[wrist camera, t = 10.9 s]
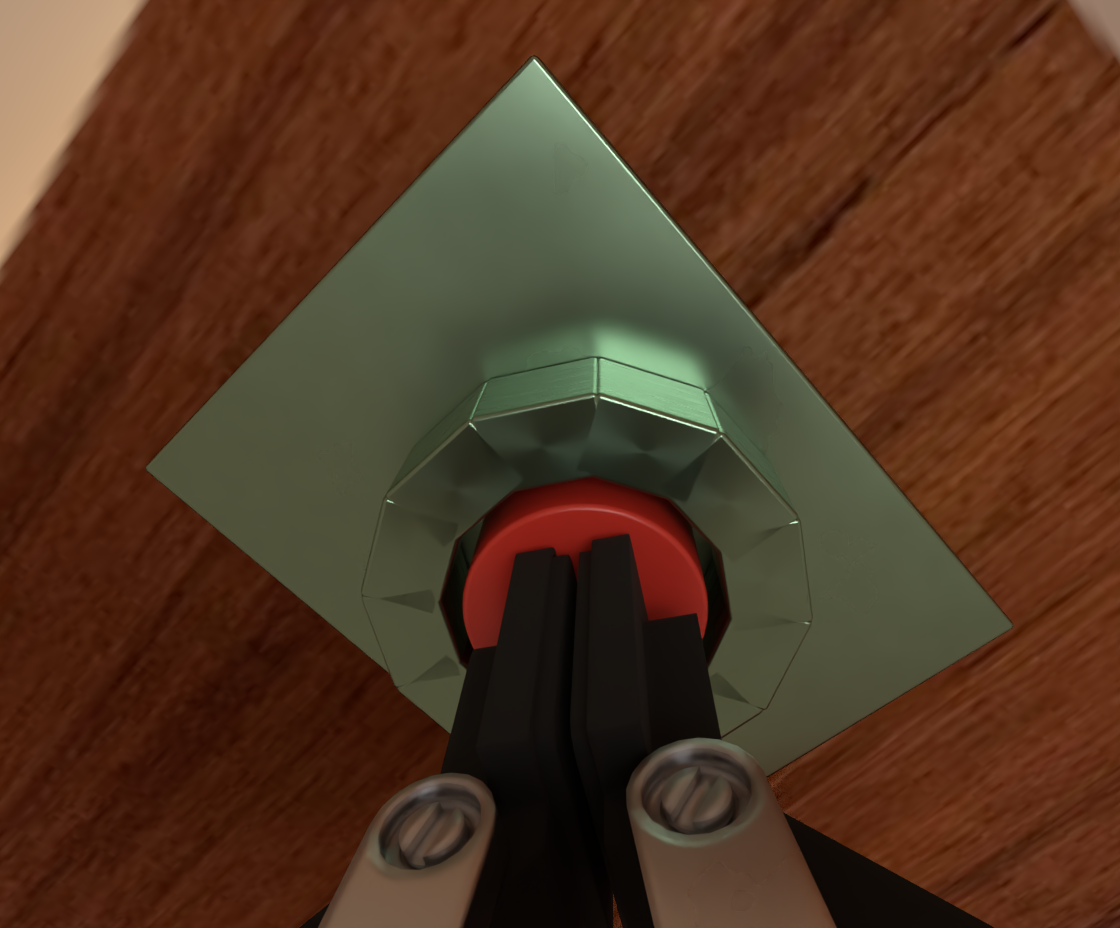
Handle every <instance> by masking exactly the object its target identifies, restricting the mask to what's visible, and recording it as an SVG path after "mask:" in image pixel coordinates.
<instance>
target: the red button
mask: <svg viewBox="0 0 1120 928" xmlns="http://www.w3.org/2000/svg"><path fill="white" fill-rule="evenodd" d="M624 534H629V535H630V538H631V542H632V547H633V551H634V556H635V561H636V565H637V570H638V574H639V579H640V583H641V588H642V593H643V597H644V602H645V606H646V611H647V615H648V620H649V621H650V620H656V619H662V618H669V617H675V616H681V615H687V614H693V613H697V616H698V621H699V626H700V631H701V636H702V639H703V637H704V634H705V630H706V625H707V621H708V598H707V590H706V586H705V582H704V577H703V573H702V569H701V564H700V560H699V556H698V551H697V547H696V543H695V539H694V535H693V531H692V527H691V525H690V523H689V522H688V521H687V520H686V518H685V517H684V516H683V515H682V514H681V513H680V512H679V511H678V510H677V509H676V508H675V507H674V506H673V505H672V504H671V503H670V502H669V501H668V500H667V499H664V498H660V497H657V496H654V495H650V494H647V493H644V492H640V491H637V490H634V489H630V488H627V487H624V486H620V485H617V484H614V483H610V482H607V481H604V480H600V479H597V478H594V477H591V478H586V479H580V480H575V481H570V482H565V483H559V484H554V485H549V486H543V487H538V488H533V489H528V490H522V491H517V492H514V493H513V494H512V495H511V496H509V497H508V498H507V499H506V500H505V501H503V502H502V503H501V504H500V505H499V506H497V507H496V508H495V509H494V510H493V511H492V512H490V513H489V514H488V515H487V516H486V517H485V519H484V522H483V525H482V527H481V530H480V533H479V537H478V540H477V544H476V547H475V551H474V554H473V557H472V561H471V564H470V568H469V571H468V574H467V578H466V582H465V586H464V591H463V603H462V608H463V619H464V623H465V627H466V631H467V634H468V637H469V639H470V642H471V644H472V646H473V648H474V650H475V649H477V648H484V647H490V646H496V645H497V642H498V637H499V632H500V627H501V623H502V618H503V613H504V608H505V603H506V598H507V593H508V589H509V584H510V579H511V574H512V569H513V564H514V559H515V556H516V554H517V553H523V552H528V551H534V550H540V549H545V548H551V547H553V548H554V549H555V551H556V554H557V556H561V555H567V554H569V556H570V558H571V560H572V564H573V568H574V572H575V576H576V580H577V582H578V564H579V552H584V551H590V550H591V548H592V540H596V539H602V538H607V537H613V536H619V535H624Z"/></svg>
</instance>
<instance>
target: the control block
mask: <svg viewBox="0 0 1120 928" xmlns="http://www.w3.org/2000/svg"><path fill="white" fill-rule="evenodd" d="M146 470H147V472H149V473H150V474H151V475H152V476H153V477H154V478H156V479H157V480H158V481H159V482H160V483H162V484H163V485H164V486H165V487H166V488H168V489H169V490H170V491H171V492H172V493H174V494H175V495H176V496H177V497H178V498H180V499H181V500H182V501H183V502H184V503H186V504H187V505H188V506H189V507H190V508H192V509H193V510H194V511H195V512H196V513H197V514H199V515H200V516H201V517H202V518H203V519H205V520H206V521H207V522H208V523H209V524H211V525H212V526H213V527H214V528H215V529H217V530H218V531H219V532H220V533H221V534H223V535H224V536H225V537H226V538H227V539H229V540H230V541H231V542H232V543H233V544H235V545H236V546H237V547H238V548H239V549H240V550H242V551H243V552H244V553H245V554H246V555H248V556H249V557H250V558H251V559H252V560H254V561H255V562H256V563H257V564H258V565H260V566H261V567H262V568H263V569H264V570H266V571H267V572H268V573H269V574H270V575H272V576H273V577H274V578H275V579H276V580H278V581H279V582H280V583H281V584H282V585H283V586H285V587H286V588H287V589H288V590H289V591H291V592H292V593H293V594H294V595H295V596H297V597H298V598H299V599H300V600H301V601H303V602H304V603H305V604H306V605H307V606H309V607H310V608H311V609H312V610H313V611H315V612H316V613H317V614H318V615H319V616H321V617H322V618H323V619H324V620H325V621H326V622H328V623H329V624H330V625H331V626H332V627H334V628H335V629H336V630H337V631H338V632H340V633H341V634H342V635H343V636H344V637H346V638H347V639H348V640H349V641H350V642H352V643H353V644H354V645H355V646H356V647H358V648H359V649H360V650H361V651H362V652H364V653H365V654H366V655H367V656H368V657H369V658H371V659H372V660H373V661H374V662H375V663H377V664H378V665H379V666H380V667H381V668H383V669H384V670H385V671H386V672H387V673H389V674H390V676H391V678H392V681H393V684H394V686H395V687H397V689H398V691H399V692H400V693H401V694H402V695H404V696H405V697H406V698H407V699H408V700H410V701H411V702H412V703H413V704H414V705H416V706H417V707H418V708H419V709H420V710H422V711H423V712H424V713H425V714H426V715H428V716H429V717H430V718H431V719H432V720H434V721H435V722H436V723H437V724H438V725H440V726H441V727H442V728H443V729H444V730H446V731H447V732H448V733H449V734H451V730H452V726H453V723H454V719H455V715H456V711H457V707H458V703H459V699H460V695H461V691H462V687H463V683H464V679H465V675H466V671H467V667H468V663H469V659H470V656H471V654H472V651H473V650H474V648H473V646H472V644H471V642H470V639H469V637H468V634H467V631H466V627H465V623H464V619H463V608H462V603H463V591H464V586H465V582H466V578H467V574H468V571H469V568H470V564H471V561H472V557H473V554H474V551H475V547H476V544H477V540H478V537H479V533H480V530H481V527H482V525H483V522H484V519H485V517H486V516H487V515H488V514H489V513H490V512H492V511H493V510H494V509H495V508H496V507H497V506H499V505H500V504H501V503H502V502H503V501H505V500H506V499H507V498H508V497H509V496H511V495H512V494H513V493H514V492H517V491H522V490H528V489H533V488H538V487H543V486H549V485H554V484H559V483H565V482H570V481H575V480H580V479H586V478H591V477H594V478H597V479H600V480H604V481H607V482H610V483H614V484H617V485H620V486H624V487H627V488H630V489H634V490H637V491H640V492H644V493H647V494H650V495H654V496H657V497H660V498H664V499H667V500H668V501H669V502H670V503H671V504H672V505H673V506H674V507H675V508H676V509H677V510H678V511H679V512H680V513H681V514H682V515H683V516H684V517H685V518H686V520H687V521H688V522H689V523H690V525H691V527H692V531H693V535H694V539H695V543H696V547H697V551H698V556H699V560H700V564H701V569H702V573H703V577H704V582H705V586H706V590H707V598H708V621H707V625H706V630H705V634H704V637H703V639H702V641H703V647H704V652H705V657H706V662H707V667H708V672H709V677H710V682H711V688H712V693H713V698H714V703H715V708H716V713H717V718H718V723H719V729H720V734H721V739H722V741H725V742H728V743H731V744H733V745H736V746H739V747H740V748H741V749H743V750H744V751H746V752H747V753H748V754H750V755H751V756H753V757H754V759H755V760H756V761H757V763H758V764H759V766H760V767H761V768H762V770H763V771H764V773H765V775H766V777H769V776H771V775H772V774H774V773H776V772H777V771H779V770H781V769H782V768H784V767H785V766H787V765H789V764H790V763H792V762H794V761H795V760H797V759H799V758H800V757H802V756H803V755H805V754H807V753H808V752H810V751H812V750H813V749H815V748H817V747H818V746H820V745H822V744H823V743H825V742H826V741H828V740H830V739H831V738H833V737H835V736H836V735H838V734H840V733H841V732H843V731H845V730H846V729H848V728H849V727H851V726H853V725H854V724H856V723H858V722H859V721H861V720H863V719H864V718H866V717H867V716H869V715H871V714H872V713H874V712H876V711H877V710H879V709H881V708H882V707H884V706H886V705H887V704H889V703H890V702H892V701H894V700H895V699H897V698H899V697H900V696H902V695H904V694H905V693H907V692H908V691H910V690H912V689H913V688H915V687H917V686H918V685H920V684H922V683H923V682H925V681H927V680H928V679H930V678H931V677H933V676H935V675H936V674H938V673H940V672H941V671H943V670H945V669H946V668H948V667H950V666H951V665H953V664H954V663H956V662H958V661H959V660H961V659H963V658H964V657H966V656H968V655H969V654H971V653H972V652H974V651H976V650H977V649H979V648H981V647H982V646H984V645H986V644H987V643H989V642H991V641H992V640H994V639H995V638H997V637H999V636H1000V635H1002V634H1004V633H1005V632H1007V631H1009V630H1010V629H1012V627H1013V624H1012V622H1011V620H1010V619H1009V618H1008V617H1007V616H1006V614H1005V613H1004V612H1003V611H1002V609H1001V608H1000V607H999V606H998V605H997V603H996V602H995V601H994V600H993V599H992V597H991V596H990V595H989V594H988V593H987V591H986V590H985V589H984V588H983V587H982V585H981V584H980V583H979V582H978V581H977V579H976V578H975V577H974V576H973V575H972V573H971V572H970V571H969V570H968V569H967V567H966V566H965V565H964V564H963V563H962V561H961V560H960V559H959V558H958V557H957V555H956V554H955V553H954V552H953V551H952V549H951V548H950V547H949V546H948V545H947V544H946V542H945V541H944V540H943V539H942V538H941V536H940V535H939V534H938V533H937V532H936V530H935V529H934V528H933V527H932V526H931V524H930V523H929V522H928V521H927V520H926V518H925V517H924V516H923V515H922V514H921V512H920V511H919V510H918V509H917V508H916V507H915V505H914V504H913V503H912V502H911V501H910V499H909V498H908V497H907V496H906V495H905V493H904V492H903V491H902V490H901V489H900V487H899V486H898V485H897V484H896V483H895V481H894V480H893V479H892V478H891V477H890V476H889V474H888V473H887V472H886V471H885V470H884V468H883V467H882V466H881V465H880V464H879V462H878V461H877V460H876V459H875V458H874V456H873V455H872V454H871V453H870V452H869V450H868V449H867V448H866V447H865V446H864V444H863V443H862V442H861V441H860V440H859V439H858V437H857V436H856V435H855V434H854V433H853V431H852V430H851V429H850V428H849V427H848V425H847V424H846V423H845V422H844V421H843V419H842V418H841V417H840V416H839V415H838V413H837V412H836V411H835V410H834V409H833V407H832V406H831V405H830V404H829V403H828V402H827V400H826V399H825V398H824V397H823V396H822V394H821V393H820V392H819V391H818V390H817V388H816V387H815V386H814V385H813V384H812V382H811V381H810V380H809V379H808V378H807V376H806V375H805V374H804V373H803V372H802V371H801V369H800V368H799V367H798V366H797V365H796V363H795V362H794V361H793V360H792V359H791V357H790V356H789V355H788V354H787V353H786V351H785V350H784V349H783V348H782V347H781V345H780V344H779V343H778V342H777V341H776V339H775V338H774V337H773V336H772V335H771V334H770V332H769V331H768V330H767V329H766V328H765V326H764V325H763V324H762V323H761V322H760V320H759V319H758V318H757V317H756V316H755V314H754V313H753V312H752V311H751V310H750V308H749V307H748V306H747V305H746V304H745V302H744V301H743V300H742V299H741V298H740V297H739V295H738V294H737V293H736V292H735V291H734V289H733V288H732V287H731V286H730V285H729V283H728V282H727V281H726V280H725V279H724V277H723V276H722V275H721V274H720V273H719V271H718V270H717V269H716V268H715V267H714V266H713V264H712V263H711V262H710V261H709V260H708V258H707V257H706V256H705V255H704V254H703V252H702V251H701V250H700V249H699V248H698V246H697V245H696V244H695V243H694V242H693V240H692V239H691V238H690V237H689V236H688V234H687V233H686V232H685V231H684V230H683V229H682V227H681V226H680V225H679V224H678V223H677V221H676V220H675V219H674V218H673V217H672V215H671V214H670V213H669V212H668V211H667V209H666V208H665V207H664V206H663V205H662V203H661V202H660V201H659V200H658V199H657V197H656V196H655V195H654V194H653V193H652V192H651V190H650V189H649V188H648V187H647V186H646V184H645V183H644V182H643V181H642V180H641V178H640V177H639V176H638V175H637V174H636V172H635V171H634V170H633V169H632V168H631V166H630V165H629V164H628V163H627V162H626V161H625V159H624V158H623V157H622V156H621V155H620V153H619V152H618V151H617V150H616V149H615V147H614V146H613V145H612V144H611V143H610V141H609V140H608V139H607V138H606V137H605V135H604V134H603V133H602V132H601V131H600V129H599V128H598V127H597V126H596V125H595V124H594V122H593V121H592V120H591V119H590V118H589V116H588V115H587V114H586V113H585V112H584V110H583V109H582V108H581V107H580V106H579V104H578V103H577V102H576V101H575V100H574V98H573V97H572V96H571V95H570V94H569V92H568V91H567V90H566V89H565V88H564V87H563V85H562V84H561V83H560V82H559V81H558V79H557V78H556V77H555V76H554V75H553V73H552V72H551V71H550V70H549V69H548V67H547V66H546V65H545V64H544V63H543V62H542V61H541V60H540V58H539V57H537V56H535V55H533V56H531V57H530V58H529V59H528V60H527V61H526V62H525V63H524V64H523V65H522V66H521V67H520V68H519V69H518V70H517V71H516V73H515V74H514V75H513V76H512V77H511V78H510V79H509V80H508V81H507V82H506V83H505V84H504V85H503V86H502V87H501V88H500V90H499V91H498V92H497V93H496V94H495V95H494V96H493V97H492V98H491V99H490V100H489V101H488V102H487V103H486V104H485V106H484V107H483V108H482V109H481V110H480V111H479V112H478V113H477V114H476V115H475V116H474V117H473V118H472V119H471V120H470V121H469V123H468V124H467V125H466V126H465V127H464V128H463V129H462V130H461V131H460V132H459V133H458V134H457V135H456V136H455V137H454V138H453V140H452V141H451V142H450V143H449V144H448V145H447V146H446V147H445V148H444V149H443V150H442V151H441V152H440V153H439V154H438V156H437V157H436V158H435V159H434V160H433V161H432V162H431V163H430V164H429V165H428V166H427V167H426V168H425V169H424V170H423V171H422V173H421V174H420V175H419V176H418V177H417V178H416V179H415V180H414V181H413V182H412V183H411V184H410V185H409V186H408V187H407V188H406V190H405V191H404V192H403V193H402V194H401V195H400V196H399V197H398V198H397V199H396V200H395V201H394V202H393V203H392V204H391V206H390V207H389V208H388V209H387V210H386V211H385V212H384V213H383V214H382V215H381V216H380V217H379V218H378V219H377V220H376V221H375V223H374V224H373V225H372V226H371V227H370V228H369V229H368V230H367V231H366V232H365V233H364V234H363V235H362V236H361V237H360V238H359V240H358V241H357V242H356V243H355V244H354V245H353V246H352V247H351V248H350V249H349V250H348V251H347V252H346V253H345V254H344V256H343V257H342V258H341V259H340V260H339V261H338V262H337V263H336V264H335V265H334V266H333V267H332V268H331V269H330V270H329V271H328V273H327V274H326V275H325V276H324V277H323V278H322V279H321V280H320V281H319V282H318V283H317V284H316V285H315V286H314V287H313V288H312V290H311V291H310V292H309V293H308V294H307V295H306V296H305V297H304V298H303V299H302V300H301V301H300V302H299V303H298V304H297V306H296V307H295V308H294V309H293V310H292V311H291V312H290V313H289V314H288V315H287V316H286V317H285V318H284V319H283V320H282V321H281V323H280V324H279V325H278V326H277V327H276V328H275V329H274V330H273V331H272V332H271V333H270V334H269V335H268V336H267V337H266V339H265V340H264V341H263V342H262V343H261V344H260V345H259V346H258V347H257V348H256V349H255V350H254V351H253V352H252V353H251V354H250V356H249V357H248V358H247V359H246V360H245V361H244V362H243V363H242V364H241V365H240V366H239V367H238V368H237V369H236V370H235V371H234V373H233V374H232V375H231V376H230V377H229V378H228V379H227V380H226V381H225V382H224V383H223V384H222V385H221V386H220V387H219V389H218V390H217V391H216V392H215V393H214V394H213V395H212V396H211V397H210V398H209V399H208V400H207V401H206V402H205V403H204V404H203V406H202V407H201V408H200V409H199V410H198V411H197V412H196V413H195V414H194V415H193V416H192V417H191V418H190V419H189V420H188V421H187V423H186V424H185V425H184V426H183V427H182V428H181V429H180V430H179V431H178V432H177V433H176V434H175V435H174V436H173V437H172V439H171V440H170V441H169V442H168V443H167V444H166V445H165V446H164V447H163V448H162V449H161V450H160V451H159V452H158V453H157V454H156V456H155V457H154V458H153V459H152V460H151V461H150V462H149V463H148V464H147V466H146Z"/></svg>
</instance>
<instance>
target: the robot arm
mask: <svg viewBox="0 0 1120 928" xmlns="http://www.w3.org/2000/svg"><path fill="white" fill-rule="evenodd" d="M613 894H614V897H615V901H616V904H617V908H618V912H619V915H620V919H621V922H622V926H623V928H993V927H992V926H990V925H989V924H987V923H985V922H983V921H981V920H979V919H978V918H976V917H974V916H972V915H970V914H968V913H967V912H965V911H963V910H961V909H959V908H957V907H956V906H954V905H952V904H950V903H948V902H946V901H945V900H943V899H941V898H939V897H937V896H935V895H934V894H932V893H930V892H928V891H926V890H924V889H923V888H921V887H919V886H917V885H915V884H913V883H912V882H910V881H908V880H906V879H904V878H902V877H901V876H899V875H897V874H895V873H893V872H891V871H890V870H888V869H886V868H884V867H882V866H880V865H879V864H877V863H875V862H873V861H871V860H869V859H868V858H866V857H864V856H862V855H860V854H858V853H857V852H855V851H853V850H851V849H849V848H847V847H846V846H844V845H842V844H840V843H838V842H836V841H835V840H833V839H831V838H829V837H827V836H825V835H824V834H822V833H820V832H818V831H816V830H814V829H813V828H811V827H809V826H807V825H805V824H803V823H802V822H800V821H798V820H796V819H794V818H792V817H791V816H789V815H787V814H785V813H783V812H782V809H781V807H780V805H779V803H778V801H777V799H776V797H775V794H774V792H773V790H772V788H771V786H770V784H769V782H768V779H767V777H766V775H765V773H764V771H763V770H762V768H761V767H760V766H759V764H758V763H757V761H756V760H755V759H754V757H753V756H751V755H750V754H748V753H747V752H746V751H744V750H743V749H741V748H740V747H739V746H736V745H733V744H731V743H728V742H725V741H722V739H721V734H720V729H719V723H718V718H717V713H716V708H715V703H714V698H713V693H712V688H711V682H710V677H709V672H708V667H707V662H706V657H705V652H704V647H703V641H702V636H701V631H700V626H699V621H698V616H697V613H693V614H687V615H681V616H675V617H669V618H662V619H656V620H650V621H649V620H648V615H647V611H646V606H645V602H644V597H643V593H642V588H641V583H640V579H639V574H638V570H637V565H636V561H635V556H634V551H633V547H632V542H631V538H630V535H629V534H624V535H619V536H613V537H607V538H602V539H596V540H592V548H591V550H590V551H584V552H579V564H578V582H577V580H576V576H575V572H574V568H573V564H572V560H571V558H570V556H569V554H567V555H561V556H557V554H556V551H555V549H554V548H553V547H551V548H545V549H540V550H534V551H528V552H523V553H517V554H516V556H515V559H514V564H513V569H512V574H511V579H510V584H509V589H508V593H507V598H506V603H505V608H504V613H503V618H502V623H501V627H500V632H499V637H498V642H497V645H496V646H490V647H484V648H477V649H475V650H473V651H472V654H471V656H470V659H469V663H468V667H467V671H466V675H465V679H464V683H463V687H462V691H461V695H460V699H459V703H458V707H457V711H456V715H455V719H454V723H453V726H452V730H451V734H450V738H449V742H448V746H447V750H446V754H445V758H444V762H443V766H442V770H441V774H438V775H432V776H430V777H427V778H424V779H422V780H419V781H416V782H414V783H412V784H410V785H409V786H407V787H406V788H404V789H402V790H401V791H399V792H398V793H396V794H395V795H394V796H393V797H392V798H391V799H390V800H388V801H387V802H386V803H385V804H384V805H383V806H382V807H381V808H380V810H379V811H378V813H377V814H376V816H375V817H374V819H373V820H372V821H371V823H370V825H369V827H368V829H367V831H366V833H365V835H364V837H363V839H362V841H361V843H360V845H359V847H358V849H357V851H356V853H355V855H354V857H353V859H352V861H351V863H350V865H349V867H348V869H347V871H346V873H345V875H344V877H343V879H342V881H341V883H340V885H339V887H338V889H337V891H336V893H335V895H334V897H333V899H332V901H331V903H329V904H328V905H327V906H326V907H324V908H323V909H322V910H321V911H319V912H318V913H317V914H316V915H315V916H313V917H312V918H311V919H310V920H308V921H307V922H306V923H305V924H303V925H302V926H301V927H300V928H613Z"/></svg>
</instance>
